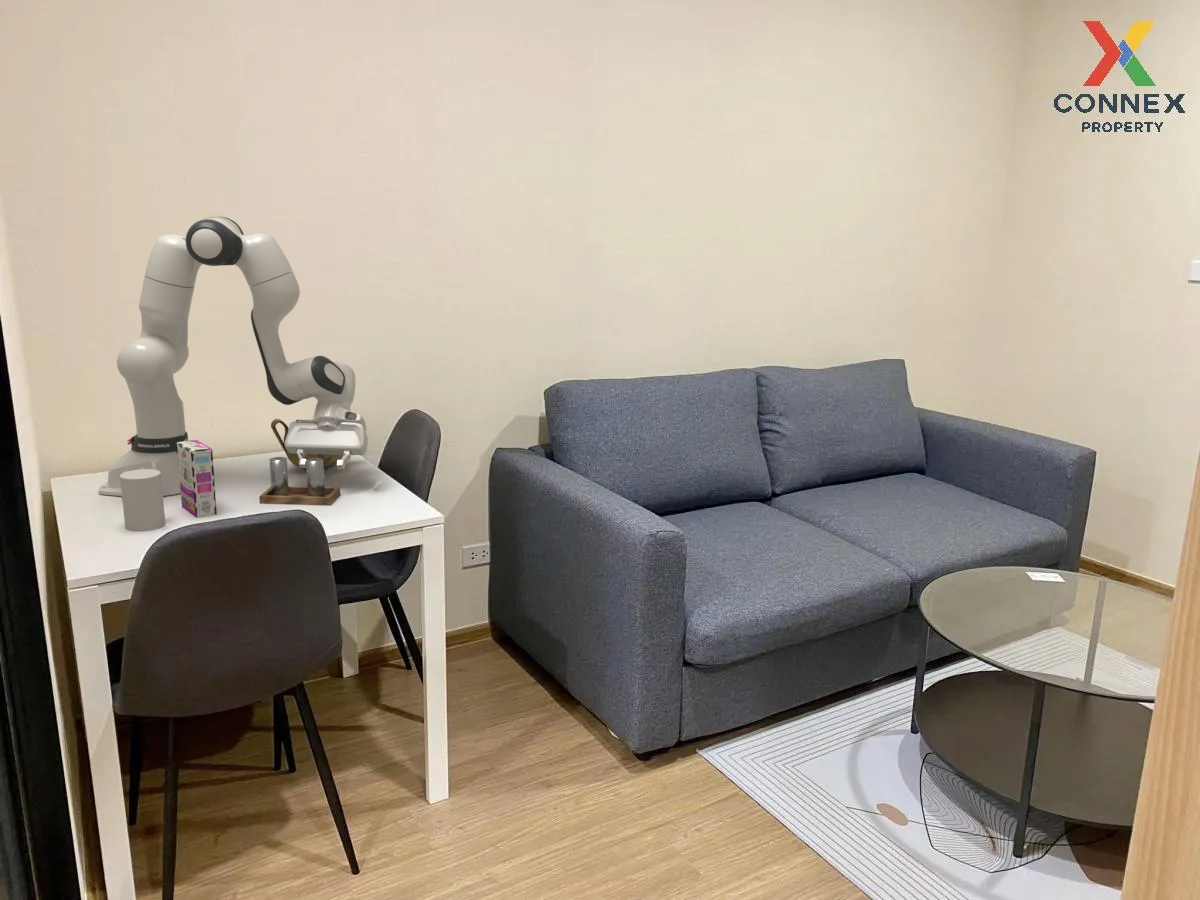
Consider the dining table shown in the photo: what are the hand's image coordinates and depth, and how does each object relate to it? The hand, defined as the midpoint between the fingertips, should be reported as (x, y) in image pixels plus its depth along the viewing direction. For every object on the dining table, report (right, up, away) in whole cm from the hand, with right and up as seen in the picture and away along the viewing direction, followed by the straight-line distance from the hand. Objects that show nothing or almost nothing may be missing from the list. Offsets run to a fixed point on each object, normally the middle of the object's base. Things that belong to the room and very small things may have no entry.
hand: (321, 467), depth 232 cm
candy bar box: (-25, -11, -13) cm, 30 cm away
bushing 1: (-9, -8, -3) cm, 12 cm away
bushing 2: (0, -8, -3) cm, 8 cm away
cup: (-33, -13, -22) cm, 42 cm away
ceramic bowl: (-9, -1, +26) cm, 28 cm away
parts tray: (-4, -8, -3) cm, 10 cm away
